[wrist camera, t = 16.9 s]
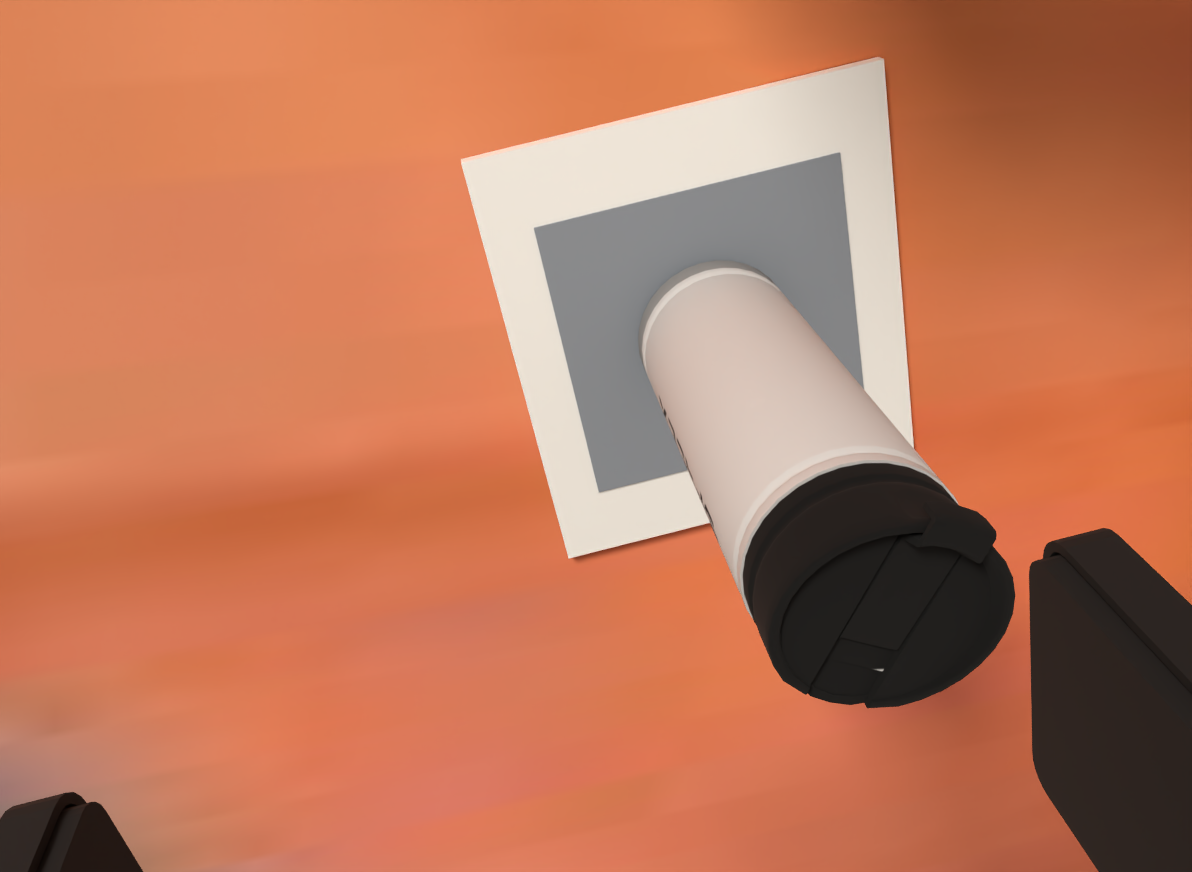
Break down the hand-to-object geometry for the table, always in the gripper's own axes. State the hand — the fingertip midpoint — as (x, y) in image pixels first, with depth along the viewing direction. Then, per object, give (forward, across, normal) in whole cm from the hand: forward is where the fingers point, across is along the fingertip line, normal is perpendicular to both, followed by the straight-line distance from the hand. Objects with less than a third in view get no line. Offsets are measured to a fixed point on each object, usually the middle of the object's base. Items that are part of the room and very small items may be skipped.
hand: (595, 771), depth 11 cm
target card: (+32, -7, +10) cm, 35 cm away
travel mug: (+32, -7, +10) cm, 34 cm away
